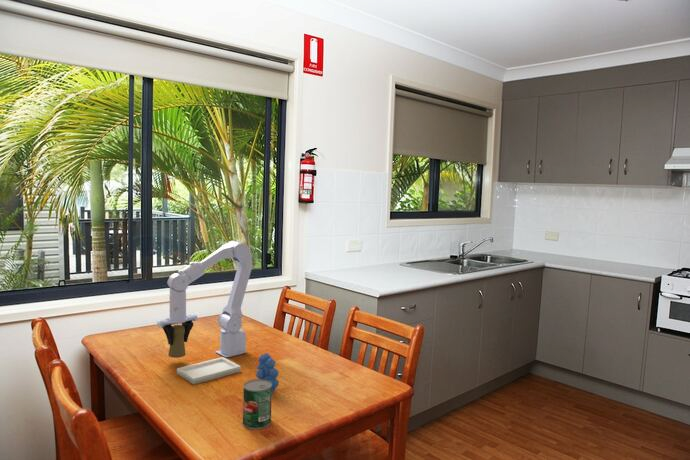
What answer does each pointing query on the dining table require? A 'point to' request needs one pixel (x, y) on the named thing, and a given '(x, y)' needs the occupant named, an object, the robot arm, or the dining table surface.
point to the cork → (177, 342)
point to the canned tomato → (257, 404)
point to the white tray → (208, 370)
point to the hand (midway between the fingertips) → (177, 342)
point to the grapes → (267, 370)
